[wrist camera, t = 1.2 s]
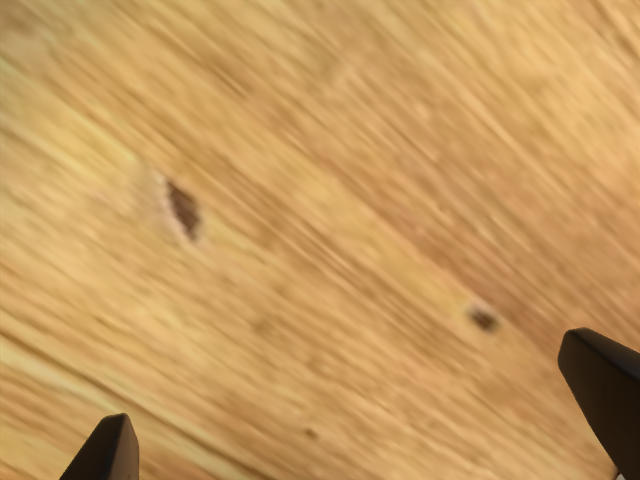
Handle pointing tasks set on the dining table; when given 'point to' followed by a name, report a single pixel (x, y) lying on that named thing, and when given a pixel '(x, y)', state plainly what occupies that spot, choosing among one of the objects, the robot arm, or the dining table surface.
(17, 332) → the dining table surface
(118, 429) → the robot arm
